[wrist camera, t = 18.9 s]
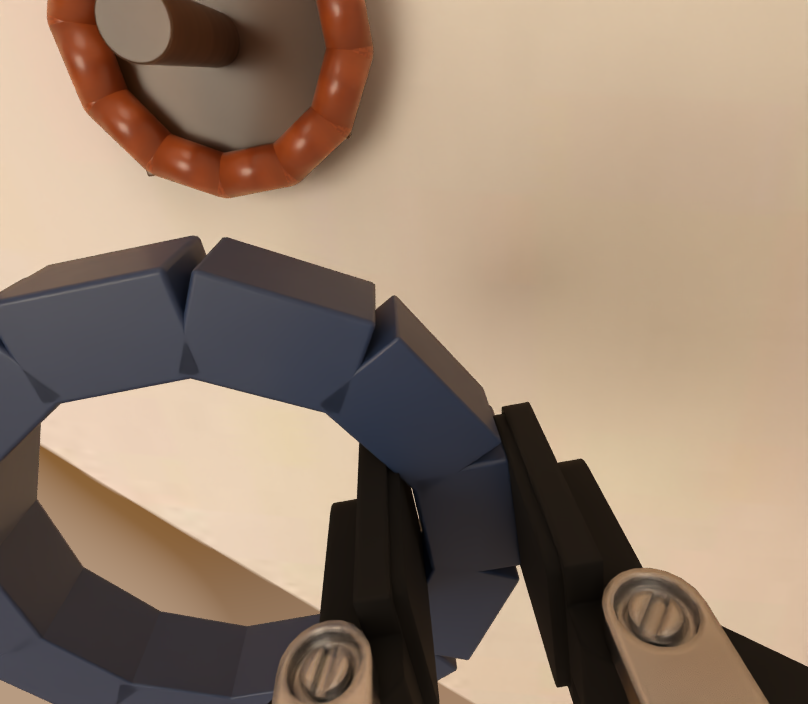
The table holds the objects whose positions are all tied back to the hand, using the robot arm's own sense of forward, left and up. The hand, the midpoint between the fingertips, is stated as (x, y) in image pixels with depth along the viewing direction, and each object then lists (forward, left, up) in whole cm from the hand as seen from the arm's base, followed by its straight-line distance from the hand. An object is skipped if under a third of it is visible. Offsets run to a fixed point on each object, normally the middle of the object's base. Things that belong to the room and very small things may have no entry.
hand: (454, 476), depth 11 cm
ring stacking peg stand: (+6, -10, -18) cm, 21 cm away
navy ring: (+5, 0, -1) cm, 5 cm away
